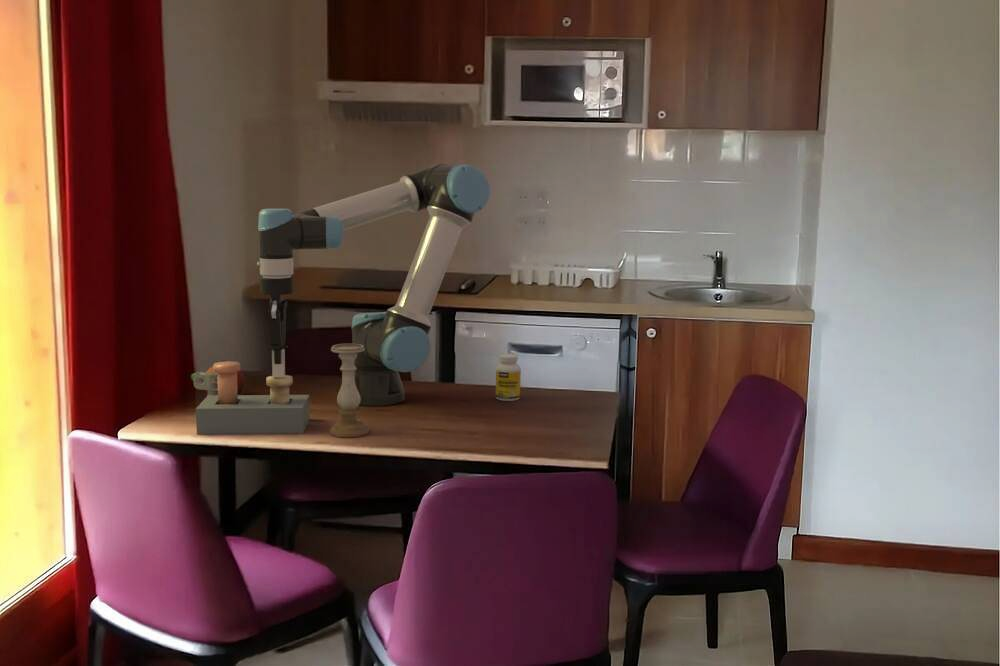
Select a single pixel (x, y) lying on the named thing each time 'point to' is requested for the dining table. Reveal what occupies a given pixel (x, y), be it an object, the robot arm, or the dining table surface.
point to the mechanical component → (206, 382)
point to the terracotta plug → (227, 381)
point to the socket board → (252, 415)
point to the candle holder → (348, 394)
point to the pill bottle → (508, 378)
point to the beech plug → (279, 389)
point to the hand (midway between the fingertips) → (278, 376)
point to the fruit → (239, 378)
